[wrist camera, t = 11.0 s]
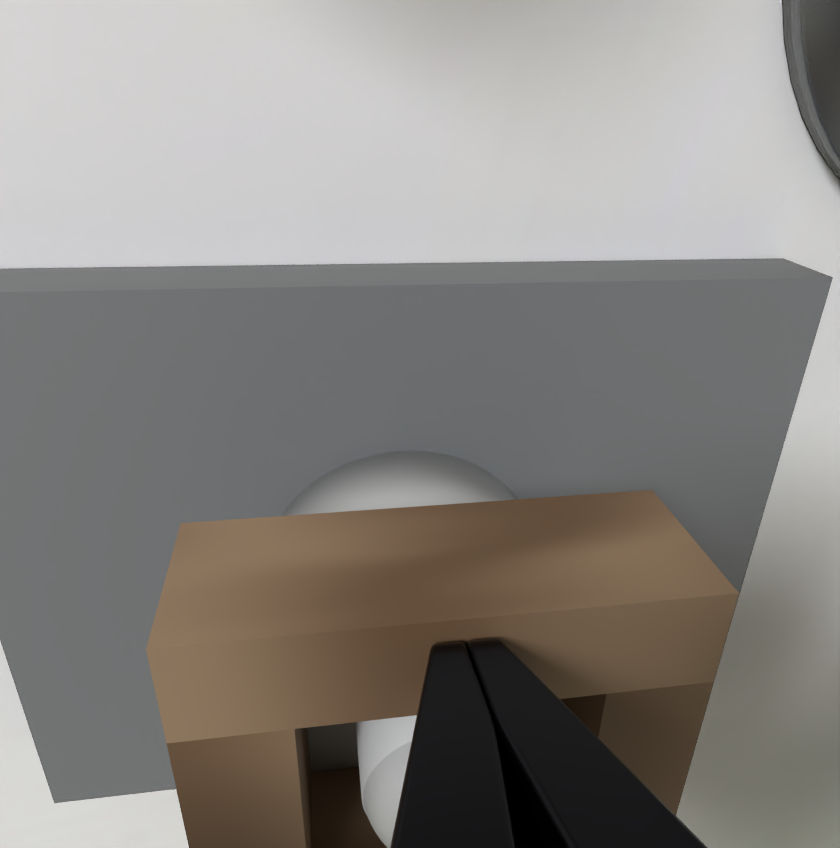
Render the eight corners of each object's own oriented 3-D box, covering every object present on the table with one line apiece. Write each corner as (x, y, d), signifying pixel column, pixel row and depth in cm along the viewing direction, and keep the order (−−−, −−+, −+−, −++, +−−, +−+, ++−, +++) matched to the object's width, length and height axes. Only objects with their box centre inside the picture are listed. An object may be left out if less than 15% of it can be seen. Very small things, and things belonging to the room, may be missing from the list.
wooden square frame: (652, 489, 11) (739, 593, 8) (593, 788, 14) (646, 917, 12) (180, 522, 10) (145, 648, 8) (233, 836, 13) (219, 987, 11)
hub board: (783, 258, 14) (1204, 420, 8) (673, 683, 20) (862, 994, 13) (-68, 269, 12) (-538, 517, 5) (73, 747, 17) (-70, 1166, 11)
